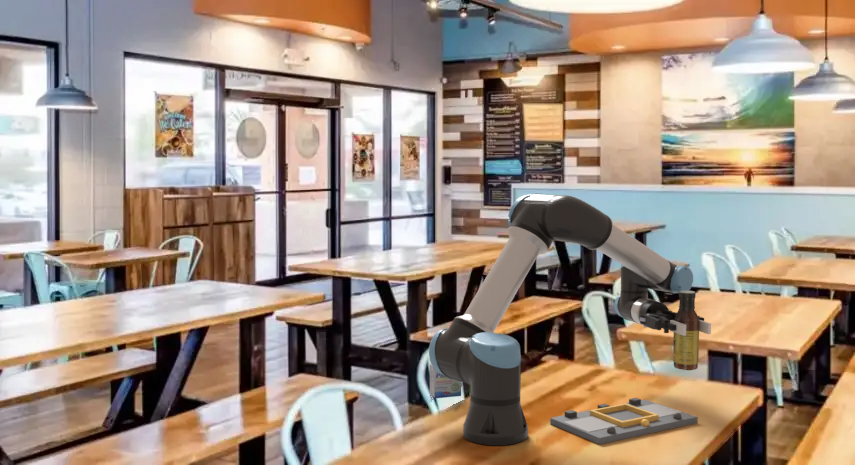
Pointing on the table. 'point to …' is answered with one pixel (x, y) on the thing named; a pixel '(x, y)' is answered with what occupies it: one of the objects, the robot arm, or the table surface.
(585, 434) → the grey fixture plate
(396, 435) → the table surface
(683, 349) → the sauce bottle
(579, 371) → the table surface
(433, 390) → the medicine box
